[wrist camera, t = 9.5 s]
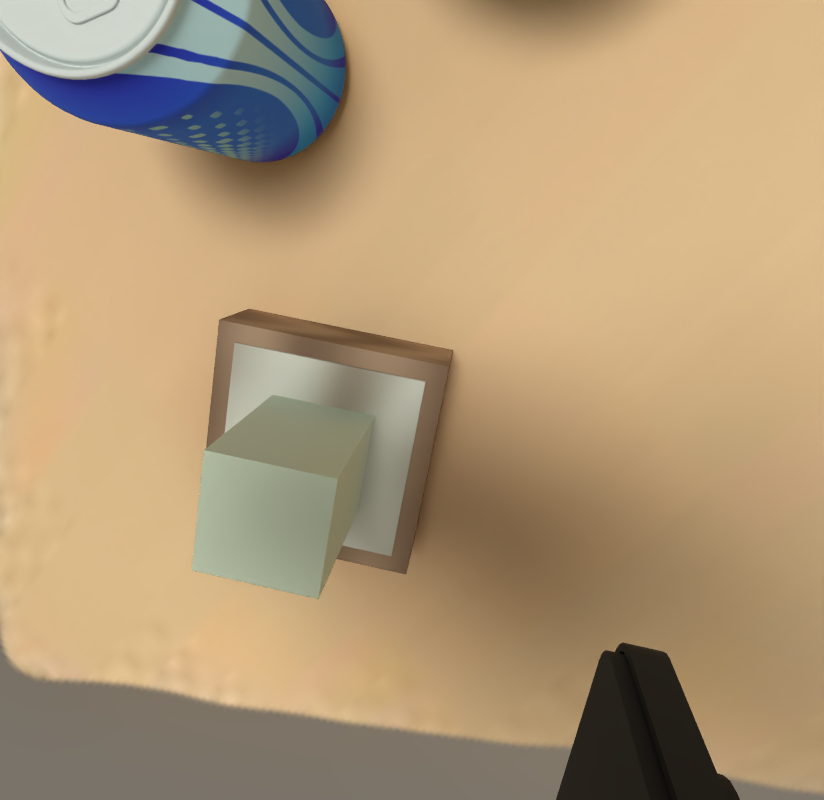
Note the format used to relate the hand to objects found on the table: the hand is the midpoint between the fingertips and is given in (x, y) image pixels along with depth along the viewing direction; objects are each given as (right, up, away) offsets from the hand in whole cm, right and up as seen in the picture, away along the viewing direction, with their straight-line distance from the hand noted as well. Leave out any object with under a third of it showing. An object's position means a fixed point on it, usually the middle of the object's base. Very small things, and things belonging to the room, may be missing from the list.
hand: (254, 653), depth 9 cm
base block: (-2, +2, +27) cm, 27 cm away
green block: (-2, +1, +23) cm, 23 cm away
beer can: (-5, +19, +23) cm, 30 cm away
